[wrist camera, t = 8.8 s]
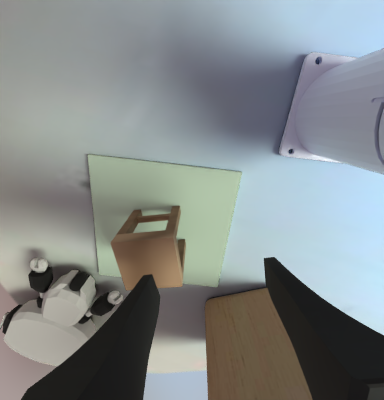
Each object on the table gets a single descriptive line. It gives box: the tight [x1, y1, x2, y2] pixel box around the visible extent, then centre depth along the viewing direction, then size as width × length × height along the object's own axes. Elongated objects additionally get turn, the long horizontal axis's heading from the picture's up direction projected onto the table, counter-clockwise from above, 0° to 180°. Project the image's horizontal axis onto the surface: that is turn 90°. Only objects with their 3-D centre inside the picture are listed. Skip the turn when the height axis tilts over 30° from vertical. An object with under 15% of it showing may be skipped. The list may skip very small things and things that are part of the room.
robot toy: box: [0, 258, 123, 366], centre depth 25 cm, size 12×4×15 cm
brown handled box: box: [110, 206, 186, 290], centre depth 19 cm, size 5×5×6 cm
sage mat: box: [88, 154, 242, 287], centre depth 22 cm, size 15×15×1 cm
